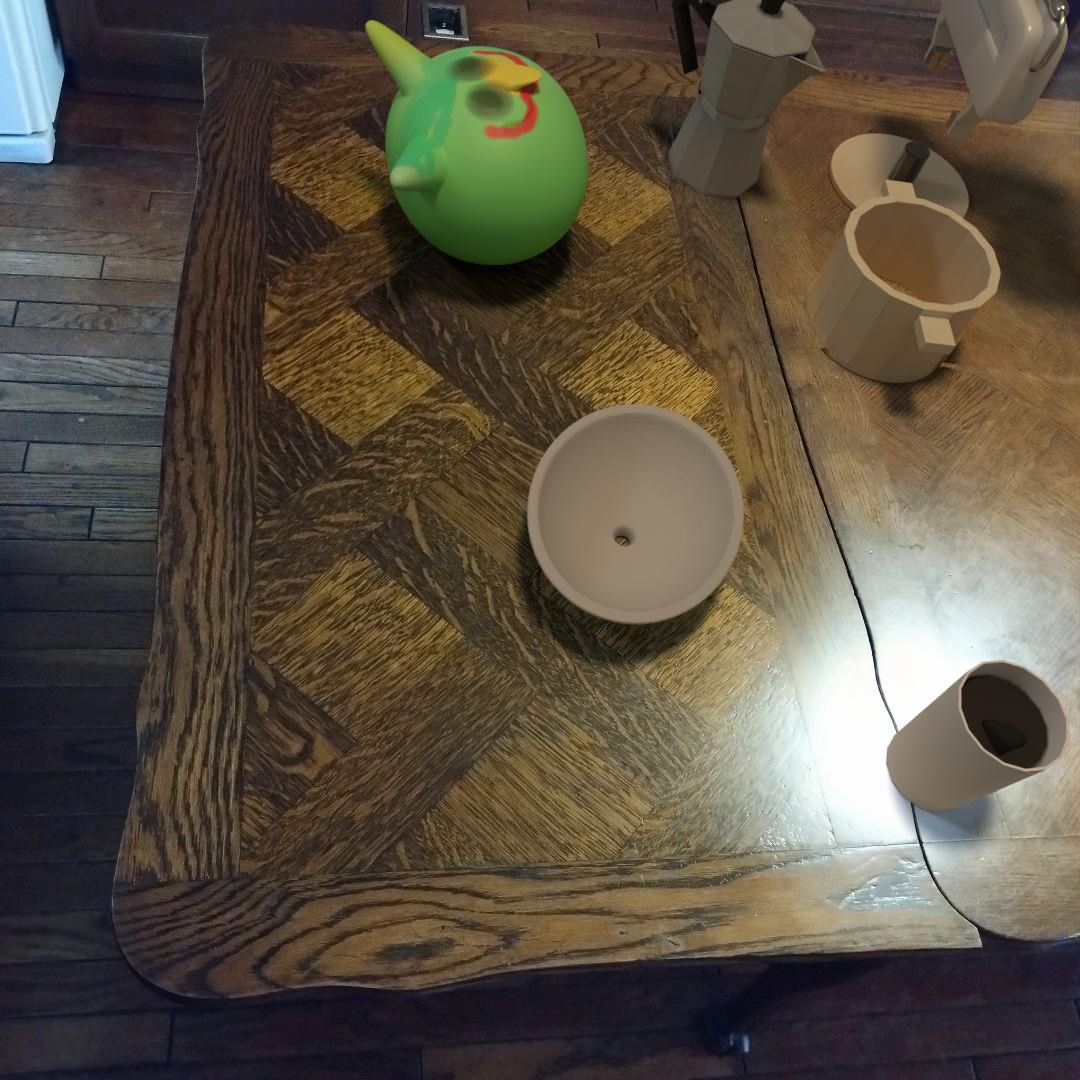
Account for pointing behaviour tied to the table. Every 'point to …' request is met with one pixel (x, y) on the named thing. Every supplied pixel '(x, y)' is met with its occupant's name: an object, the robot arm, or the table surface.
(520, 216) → the toy bird
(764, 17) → the coffee maker
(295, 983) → the table surface
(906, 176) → the lid
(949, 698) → the grey cup
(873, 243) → the pot
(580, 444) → the dish
